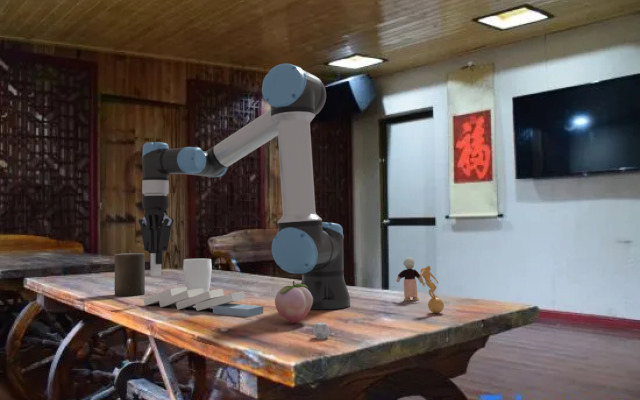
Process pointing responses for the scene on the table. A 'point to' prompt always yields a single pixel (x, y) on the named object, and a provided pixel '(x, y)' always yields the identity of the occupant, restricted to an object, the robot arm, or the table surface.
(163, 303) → the domino
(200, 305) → the domino
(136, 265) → the pillar candle
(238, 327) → the table surface
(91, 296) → the table surface
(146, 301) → the domino
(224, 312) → the blue domino
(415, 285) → the grandmother figurine
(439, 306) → the figurine
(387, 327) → the table surface
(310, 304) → the decorative fruit
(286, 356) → the table surface
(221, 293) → the domino
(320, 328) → the game die
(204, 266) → the cup
